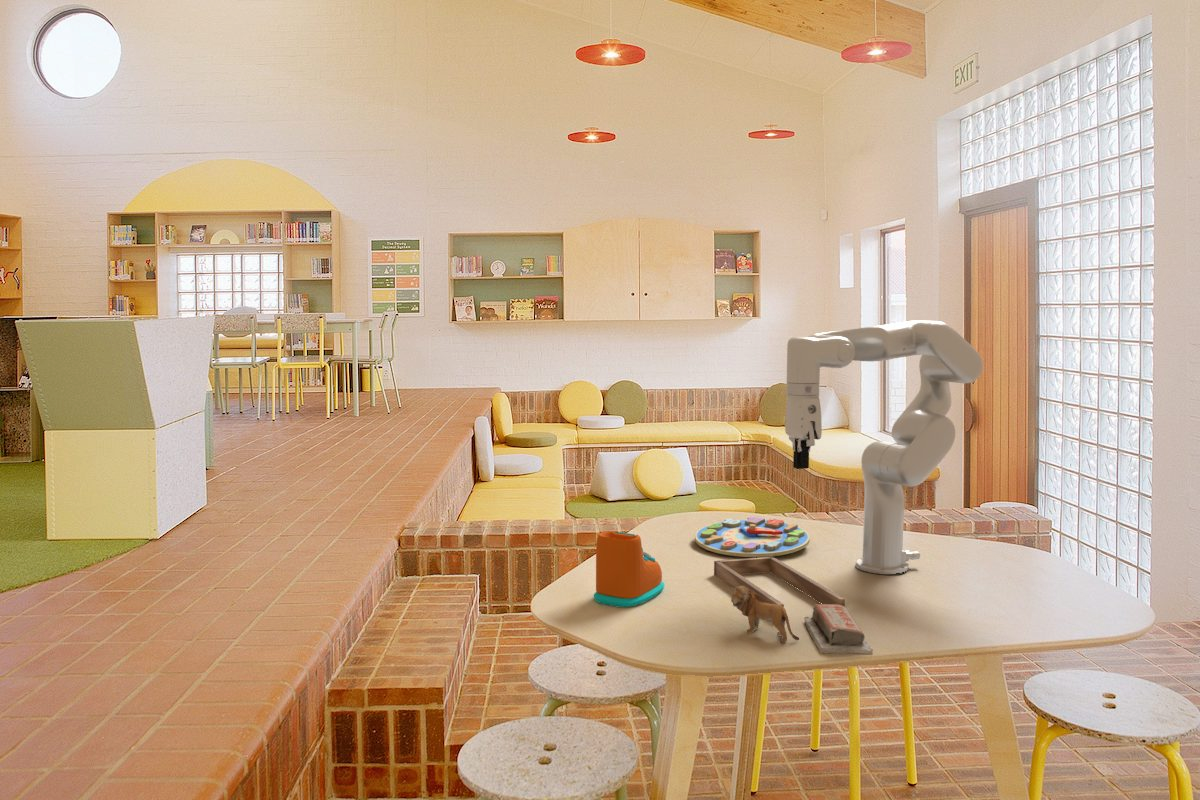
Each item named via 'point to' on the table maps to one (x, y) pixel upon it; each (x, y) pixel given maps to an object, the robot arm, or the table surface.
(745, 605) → the lion figurine
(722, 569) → the open-ended wooden frame
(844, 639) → the packaged product
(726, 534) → the shape sorting clock
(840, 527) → the table surface
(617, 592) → the toy shoe
